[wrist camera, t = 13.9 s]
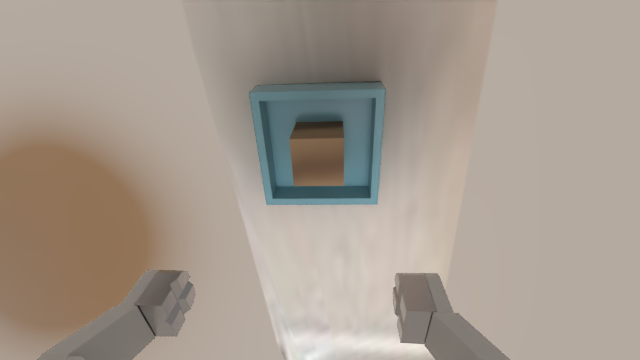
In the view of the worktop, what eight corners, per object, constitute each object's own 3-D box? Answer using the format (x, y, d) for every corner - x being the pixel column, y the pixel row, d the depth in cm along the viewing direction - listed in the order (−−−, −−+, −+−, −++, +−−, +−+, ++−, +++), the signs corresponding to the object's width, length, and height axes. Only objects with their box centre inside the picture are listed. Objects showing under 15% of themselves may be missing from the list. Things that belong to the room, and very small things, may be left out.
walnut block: (296, 122, 30) (289, 139, 26) (343, 121, 30) (343, 138, 26) (299, 164, 33) (293, 186, 29) (342, 163, 33) (343, 185, 28)
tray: (258, 85, 30) (248, 92, 27) (380, 81, 29) (385, 88, 26) (272, 188, 36) (266, 204, 33) (373, 188, 35) (377, 204, 32)
